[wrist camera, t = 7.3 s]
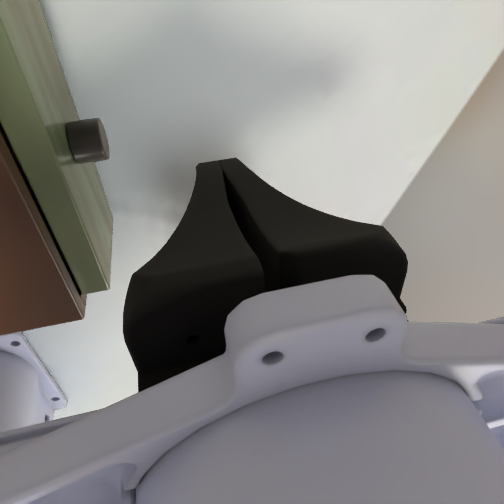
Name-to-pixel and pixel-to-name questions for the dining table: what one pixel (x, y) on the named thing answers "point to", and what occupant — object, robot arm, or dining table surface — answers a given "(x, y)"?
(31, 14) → the drawer
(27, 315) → the cabinet
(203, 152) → the dining table surface
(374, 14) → the dining table surface
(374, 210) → the dining table surface
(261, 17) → the dining table surface
